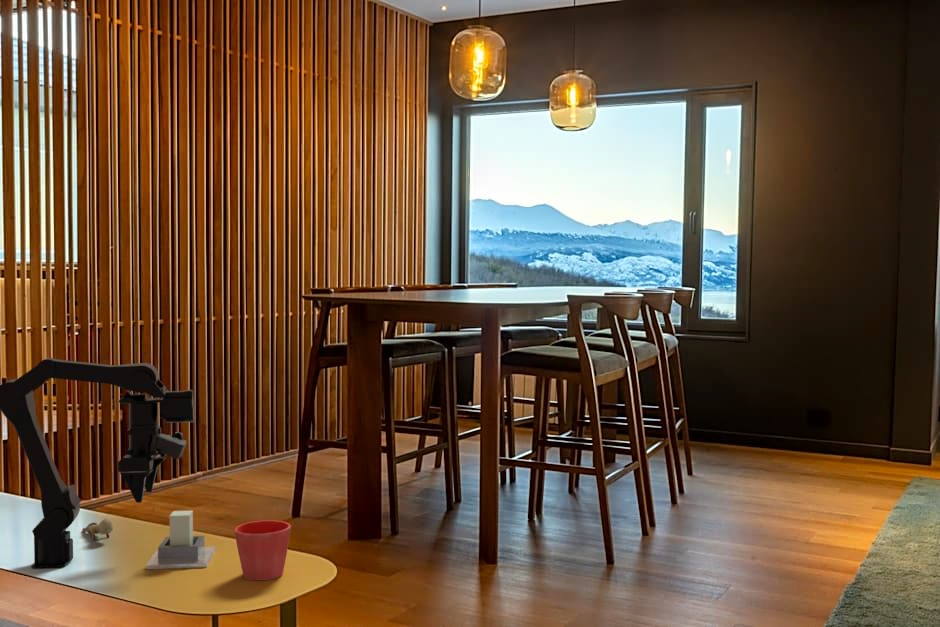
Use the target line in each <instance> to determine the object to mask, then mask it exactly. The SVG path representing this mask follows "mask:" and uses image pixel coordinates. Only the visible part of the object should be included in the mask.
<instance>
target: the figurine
mask: <svg viewBox="0 0 940 627" xmlns="http://www.w3.org/2000/svg"><path fill="white" fill-rule="evenodd" d="M113 531H114V526H113V522H112V521H111V520H110V519H109V518H104V519H102V520H101V521H100V522H99V524H98V522H91V523H88V525H87V526H86V527H82V532H90V533H91V538H92V541H96V536H95V535H105V536H106V538H110V535H109V534H111V533H112V532H113Z"/></svg>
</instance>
